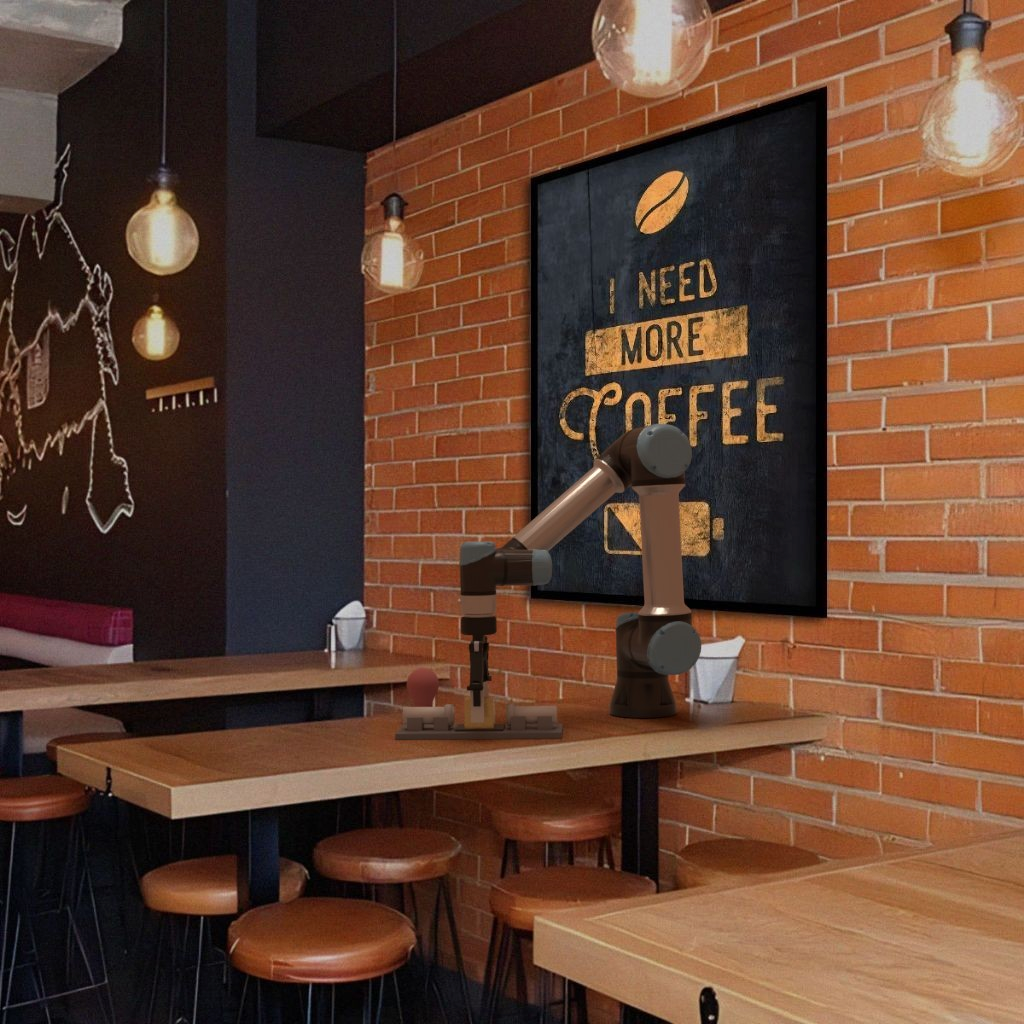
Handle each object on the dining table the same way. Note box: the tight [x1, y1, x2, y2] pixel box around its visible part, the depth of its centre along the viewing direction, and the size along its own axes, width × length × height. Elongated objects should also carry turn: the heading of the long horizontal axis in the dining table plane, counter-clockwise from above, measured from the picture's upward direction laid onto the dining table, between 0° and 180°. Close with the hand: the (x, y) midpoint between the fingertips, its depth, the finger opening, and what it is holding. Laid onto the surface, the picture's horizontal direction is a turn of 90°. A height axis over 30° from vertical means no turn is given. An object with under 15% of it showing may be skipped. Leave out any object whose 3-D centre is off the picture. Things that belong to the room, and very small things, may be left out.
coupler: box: [463, 695, 496, 729], centre depth 278 cm, size 5×6×6 cm
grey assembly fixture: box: [394, 703, 563, 741], centre depth 278 cm, size 34×12×6 cm, turn 87°
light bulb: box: [406, 667, 440, 707], centre depth 296 cm, size 7×7×12 cm
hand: (480, 717), depth 278 cm, fingers open, 13 cm apart
